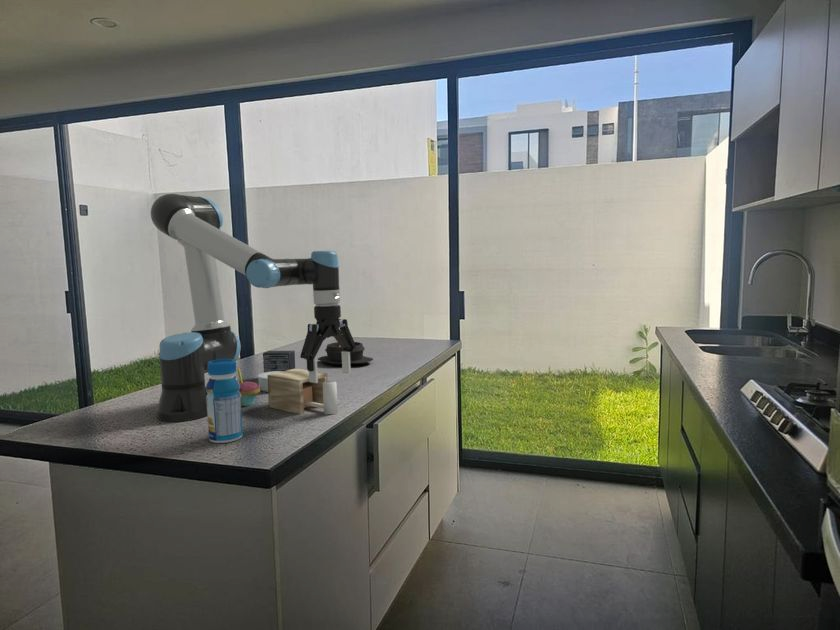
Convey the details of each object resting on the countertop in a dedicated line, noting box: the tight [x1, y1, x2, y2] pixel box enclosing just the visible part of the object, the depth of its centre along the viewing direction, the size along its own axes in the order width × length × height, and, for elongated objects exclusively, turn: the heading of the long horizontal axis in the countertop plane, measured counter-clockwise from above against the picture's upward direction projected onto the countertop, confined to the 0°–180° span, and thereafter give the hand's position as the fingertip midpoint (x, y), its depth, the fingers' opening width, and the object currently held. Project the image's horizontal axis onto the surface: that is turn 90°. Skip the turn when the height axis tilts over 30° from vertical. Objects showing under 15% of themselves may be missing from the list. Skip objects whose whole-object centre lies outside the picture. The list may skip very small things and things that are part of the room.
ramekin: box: [257, 371, 283, 393], centre depth 190 cm, size 11×11×5 cm
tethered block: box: [303, 380, 339, 415], centre depth 164 cm, size 6×18×9 cm, turn 55°
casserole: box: [317, 341, 374, 366], centre depth 234 cm, size 25×19×8 cm
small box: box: [262, 350, 296, 373], centre depth 206 cm, size 11×6×10 cm, turn 84°
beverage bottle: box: [205, 359, 244, 444], centre depth 138 cm, size 8×8×20 cm
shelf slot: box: [267, 367, 329, 415], centre depth 167 cm, size 11×14×10 cm
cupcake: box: [237, 367, 261, 407], centre depth 171 cm, size 9×8×12 cm
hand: (330, 377), depth 159 cm, fingers open, 13 cm apart
